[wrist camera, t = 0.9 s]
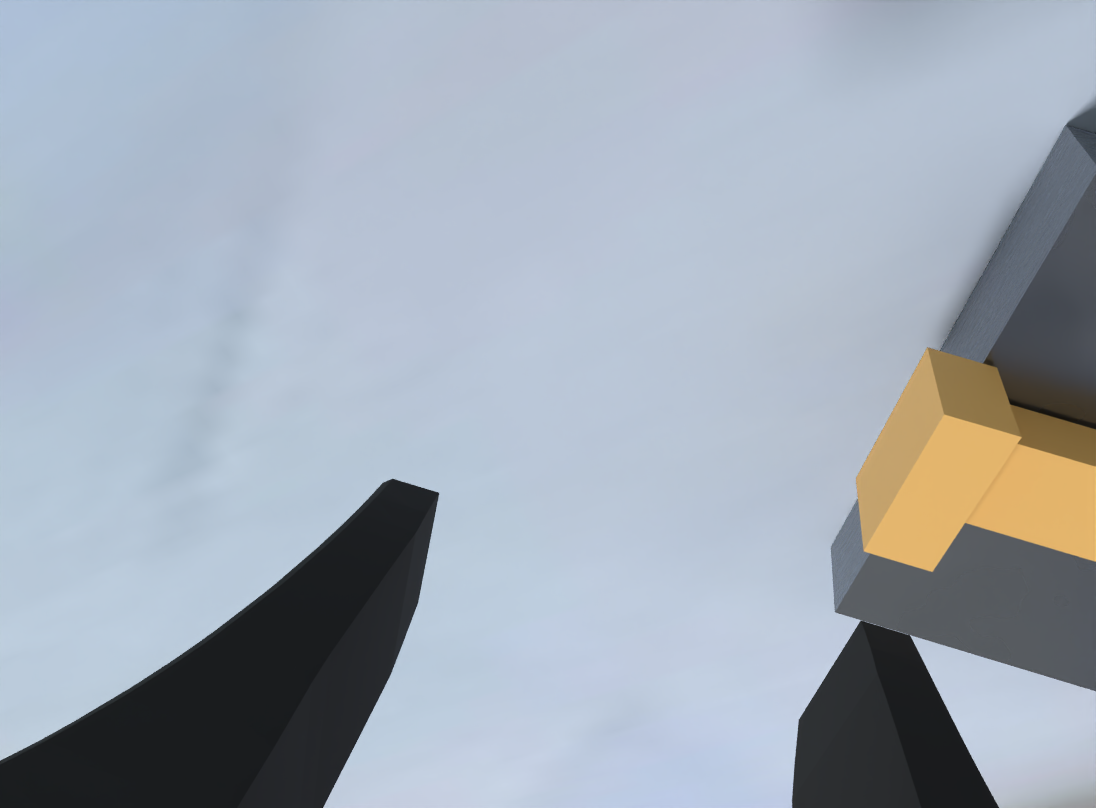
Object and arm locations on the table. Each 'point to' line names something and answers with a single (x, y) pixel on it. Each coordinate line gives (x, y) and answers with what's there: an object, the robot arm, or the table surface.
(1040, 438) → the bar
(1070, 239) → the dark grey socket tray
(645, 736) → the table surface
